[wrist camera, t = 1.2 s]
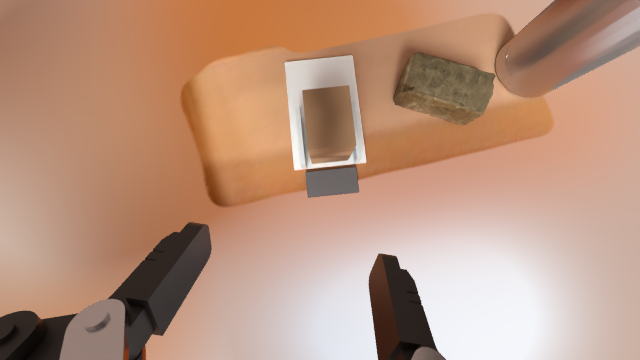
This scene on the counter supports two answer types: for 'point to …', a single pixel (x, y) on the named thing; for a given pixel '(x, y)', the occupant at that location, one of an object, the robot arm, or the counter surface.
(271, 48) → the counter surface
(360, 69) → the counter surface
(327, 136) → the walnut block
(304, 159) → the white tray
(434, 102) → the stone block
